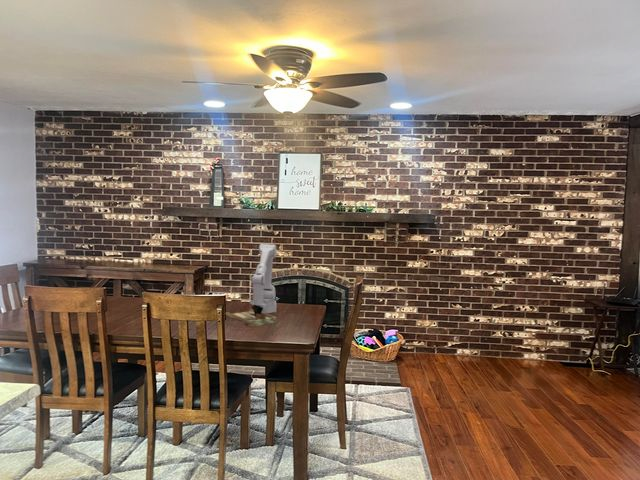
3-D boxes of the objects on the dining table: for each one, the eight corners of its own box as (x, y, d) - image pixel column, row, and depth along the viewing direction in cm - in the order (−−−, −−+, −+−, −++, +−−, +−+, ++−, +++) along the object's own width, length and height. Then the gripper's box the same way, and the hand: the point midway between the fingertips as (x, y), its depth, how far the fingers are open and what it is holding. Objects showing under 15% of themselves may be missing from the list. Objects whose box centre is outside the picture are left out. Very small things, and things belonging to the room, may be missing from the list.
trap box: (250, 313, 277) (250, 308, 277) (276, 322, 257) (276, 317, 257) (225, 317, 265) (225, 312, 265) (250, 326, 245) (250, 321, 245)
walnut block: (261, 319, 256) (261, 312, 256) (265, 321, 253) (265, 314, 253) (255, 320, 253) (256, 313, 253) (259, 322, 250) (260, 315, 250)
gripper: (245, 293, 258) (244, 316, 259) (259, 297, 247) (259, 321, 248) (255, 292, 262) (254, 315, 263) (270, 296, 252) (269, 320, 253)
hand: (257, 318), depth 256 cm, fingers closed
